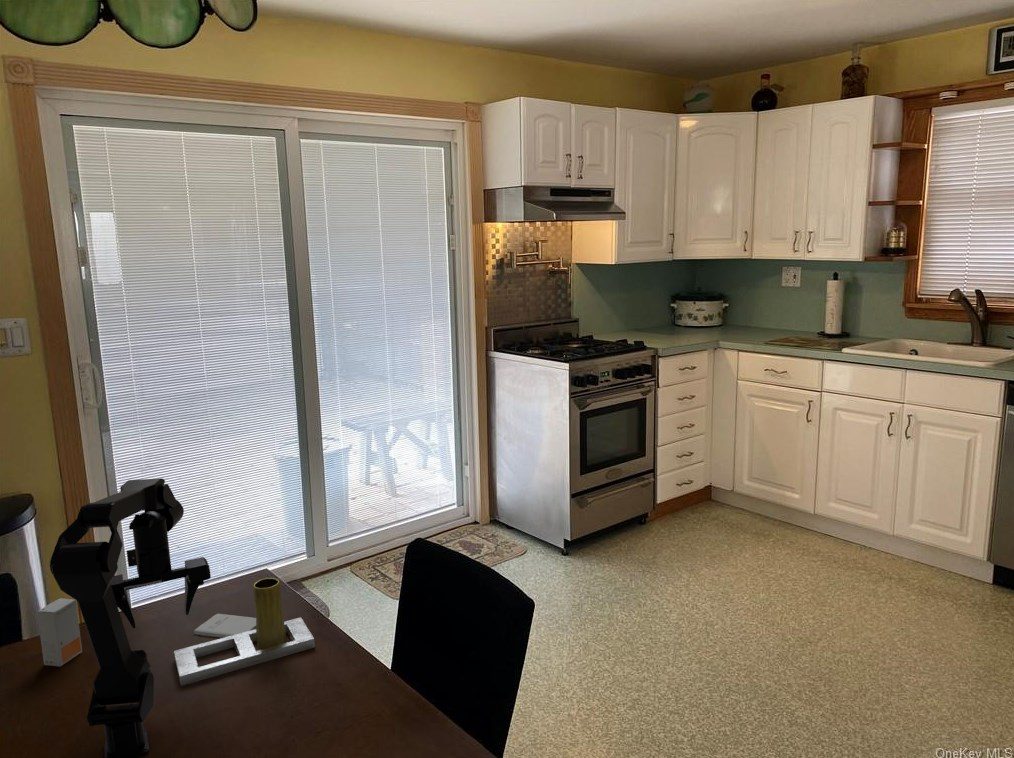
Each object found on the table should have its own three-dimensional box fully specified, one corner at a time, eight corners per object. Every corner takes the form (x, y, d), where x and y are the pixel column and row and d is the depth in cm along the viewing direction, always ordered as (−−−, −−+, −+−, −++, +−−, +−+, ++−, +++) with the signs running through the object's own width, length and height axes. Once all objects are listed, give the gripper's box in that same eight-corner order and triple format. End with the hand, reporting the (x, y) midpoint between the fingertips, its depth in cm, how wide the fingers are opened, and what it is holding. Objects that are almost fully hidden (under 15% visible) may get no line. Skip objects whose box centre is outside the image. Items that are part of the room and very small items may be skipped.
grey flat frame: (314, 647, 154) (314, 638, 154) (180, 686, 142) (179, 676, 142) (301, 625, 164) (300, 617, 164) (174, 659, 151) (173, 650, 151)
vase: (252, 653, 153) (246, 589, 150) (264, 638, 159) (258, 576, 156) (280, 654, 152) (274, 589, 150) (291, 639, 158) (286, 576, 156)
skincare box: (61, 667, 150) (53, 612, 148) (43, 665, 151) (35, 611, 149) (83, 651, 156) (76, 598, 154) (66, 650, 157) (59, 597, 155)
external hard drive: (242, 643, 158) (194, 636, 162) (265, 624, 166) (218, 618, 170) (242, 636, 158) (193, 629, 162) (264, 618, 166) (217, 612, 169)
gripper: (199, 520, 150) (206, 592, 152) (94, 540, 141) (105, 616, 143) (206, 538, 140) (215, 614, 143) (95, 560, 131) (106, 641, 134)
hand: (161, 620), depth 141 cm, fingers open, 9 cm apart
